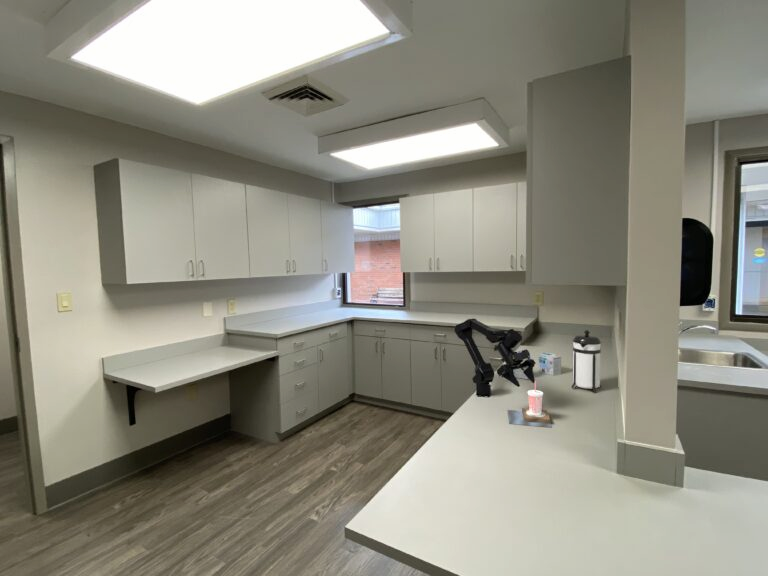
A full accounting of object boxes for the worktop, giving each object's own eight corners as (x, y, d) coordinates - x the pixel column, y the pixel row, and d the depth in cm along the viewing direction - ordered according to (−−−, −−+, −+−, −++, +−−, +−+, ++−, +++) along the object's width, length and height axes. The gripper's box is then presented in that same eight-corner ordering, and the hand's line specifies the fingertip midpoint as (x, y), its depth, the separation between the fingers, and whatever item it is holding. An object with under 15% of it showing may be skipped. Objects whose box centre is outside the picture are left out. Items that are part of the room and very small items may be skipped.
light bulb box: (538, 371, 221) (538, 353, 220) (546, 369, 224) (546, 351, 223) (553, 376, 212) (553, 357, 211) (561, 374, 214) (561, 355, 214)
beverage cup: (529, 415, 154) (529, 382, 153) (525, 409, 160) (525, 378, 159) (545, 416, 153) (545, 383, 152) (540, 410, 159) (540, 378, 158)
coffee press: (611, 392, 183) (612, 332, 181) (578, 393, 183) (579, 333, 181) (592, 381, 200) (593, 326, 198) (562, 382, 201) (563, 327, 198)
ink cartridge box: (531, 377, 210) (531, 352, 209) (528, 380, 206) (528, 354, 205) (513, 374, 216) (513, 349, 215) (510, 377, 212) (510, 351, 211)
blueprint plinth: (509, 423, 152) (509, 418, 152) (507, 410, 166) (507, 405, 165) (551, 427, 148) (551, 422, 148) (546, 413, 161) (546, 408, 161)
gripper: (501, 346, 159) (521, 378, 150) (532, 341, 168) (553, 371, 159) (488, 360, 167) (506, 391, 158) (518, 354, 175) (537, 384, 166)
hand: (526, 384), depth 160 cm, fingers open, 9 cm apart
